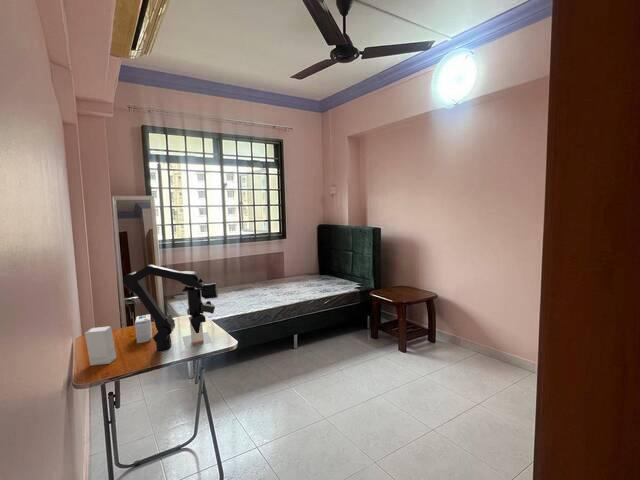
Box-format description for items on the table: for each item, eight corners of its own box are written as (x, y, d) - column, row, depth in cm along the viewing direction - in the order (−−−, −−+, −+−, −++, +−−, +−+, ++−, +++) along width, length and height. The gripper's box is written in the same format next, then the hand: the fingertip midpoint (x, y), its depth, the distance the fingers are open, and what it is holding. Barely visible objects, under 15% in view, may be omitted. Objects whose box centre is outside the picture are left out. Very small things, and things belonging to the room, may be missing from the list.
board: (212, 344, 158) (212, 342, 158) (185, 350, 153) (185, 348, 153) (204, 327, 184) (204, 324, 183) (180, 331, 178) (180, 329, 178)
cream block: (203, 341, 159) (202, 323, 159) (192, 344, 157) (190, 325, 156) (202, 339, 163) (201, 320, 162) (191, 341, 161) (189, 322, 160)
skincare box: (116, 358, 149) (112, 325, 148) (109, 364, 143) (104, 330, 142) (97, 359, 149) (93, 326, 147) (88, 366, 143) (84, 332, 141)
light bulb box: (138, 336, 175) (135, 316, 174) (152, 333, 177) (150, 313, 176) (136, 343, 165) (134, 322, 164) (152, 340, 168) (149, 319, 167)
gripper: (216, 301, 150) (219, 335, 151) (209, 292, 166) (212, 323, 168) (189, 305, 145) (192, 341, 146) (185, 296, 161) (188, 328, 163)
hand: (197, 332), depth 156 cm, fingers closed
